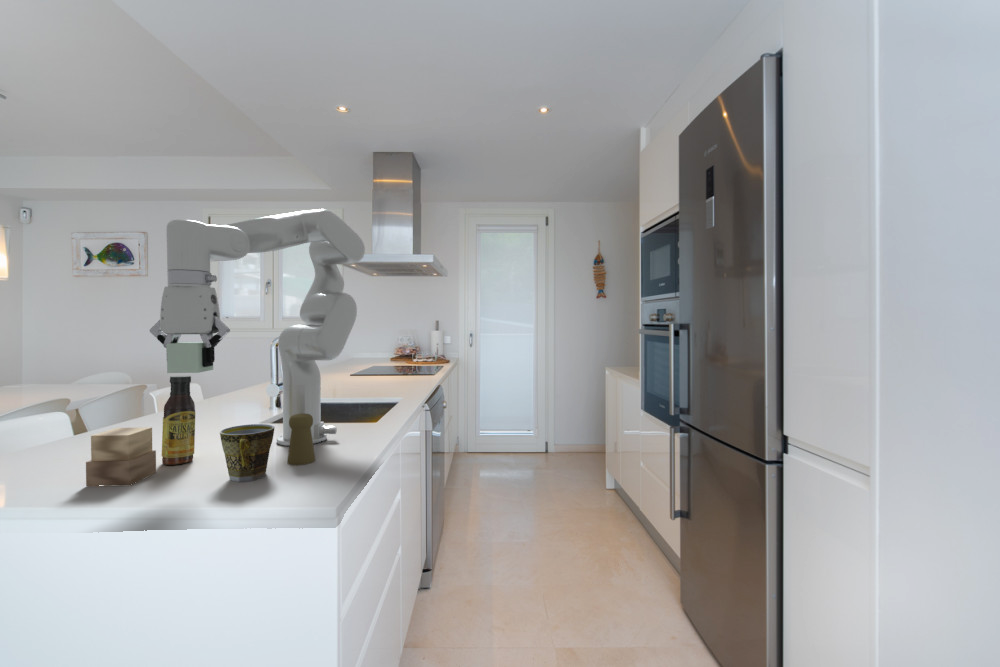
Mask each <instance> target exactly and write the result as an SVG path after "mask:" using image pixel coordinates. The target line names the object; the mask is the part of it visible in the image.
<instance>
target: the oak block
mask: <svg viewBox="0 0 1000 667" xmlns="http://www.w3.org/2000/svg"><path fill="white" fill-rule="evenodd" d="M152 450H153V427H148V426H147V427H116V428H112V429H108V430H106V431H102V432H98V433H95V434H92V435H90V455H91V456H90V457H91V458H90V460H91V461H122V460H131V459H134V458H136V457H138V456H141V455H143V454H146V453H148V452H151V451H152Z"/></svg>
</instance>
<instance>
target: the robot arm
mask: <svg viewBox="0 0 1000 667" xmlns="http://www.w3.org/2000/svg"><path fill="white" fill-rule="evenodd" d="M358 234H359V233H357V232H356V231H355V230H354V229H353V228H352V227H350V225H349V224H347V223H346V222H345V220H343V219H342V218H340V217H339V216H338V215H337V214H335V213H333V212H332V211H330V210H328V209H326V208H325V209H324V208H321V209H320V208H319V209H310V210H300V211H294V212H288V213H280V214H275V215H274V214H273V215H269V216H263V217H257V218H252V219H251V218H250V219H248V220H244V221H243V220H242V221H237V222H233V223H232V222H231V223H228V224H220V225H218V224H209V223H208V224H207V223H204V222H201V221H197V220H192V219H181V218H180V219H172V220H170V221H169V222H168V223H167V225H166V264H167V265H166V266H167V267H166V268H167V270H166V272H167V286H164V288H163V293H162V296H161V301H160V302H161V303H160V312H159V313H160V315H159V316H160V317H159V320H158V321H157V322H156V323H155V324H154V325H153V326H152V327H151V328H150V329H149V333H150V334H151V335H153V336H154V337H155V338H156V339H157V341H158V342H160V343H161V344H162V345H163V348H166V350H167V344H169V343H179V342H180V338H181V336H182V335H199V336H200V338H201V342H203V343H204V348H202V366H203V367H208V366H213V367H214V362H215V355H216V354H215V348H216V347H217V346H218V344H220V342H221V341H222V340H223V338H225V337H226V336H227V335H228V334H229V333H230V332H231V328H229V327H228V326H227V325H226V323H224V322H223V321H222V320H221V313H220V305H219V300H218V299H219V298H218V295H217V290H216V288H215V287H211V285H212V283H213V282H215V283H216V282H217V281H218V277H217V275H216V274H214V275H213V274H212V273H211V263H212V262H226V261H227V262H228V261H237V260H241V259H243V258H244V257H246V256H247V255H248V254H256V253H257V254H259V253H261V254H262V253H271V252H275V251H276V252H277V251H280V250H284V249H287V248H291V247H297V246H300V245H304V244H309V246H308V253H309V256H310V257H309V258H310V260H311V262H312V265H313V269H314V279H313V280H312V284H311V285H310V288H309V290H308V292H307V294H306V295H305V296H304V299H303V301H302V304H301V306H300V309H299V317H300V319H301V321H302V322H303V323H305V324H294V325H290V326H287V327H286V328H284V329H283V330H282V331H281V333H280V334H279V335H278V336H279V337H278V341H277V343H278V344H277V345H278V352H279V356H280V361H281V368H282V370H281V371H282V434H281V435H279V436H277V437H276V443H277V444H279V445H280V446H290V438H291V431H292V429H291V428H290V426H289V419H290V417H291V416H292V415H295V414H301V413H305V414H310V415H311V416H312V417H313V425H312V426H311V434H312V441H313V445H314V444H317V443H321V441H322V442H324V441H326V440H327V438H328V436H327V434H328V435H337V431H338V430H337V426H334V425H327V426H326V425H325V423H324V422H325V421H321V420H322V419H321V418H322V416H321V415H322V414H321V413H322V412H321V409H322V408H321V407H322V406H321V405H322V404H321V403H322V402H321V401H322V399H321V383H322V382H321V380H322V377H321V372H320V369H319V366H318V364H317V362H316V361H325V362H326V361H333V360H334V359H337V358H338V357H339V356H340V354H341V353H342V352H343V349H345V345H346V343H347V341H348V339H349V337H350V334H351V332H352V330H353V328H354V326H355V322H356V320H357V316H358V315H357V313H358V306H357V302H356V300H355V299H354V297H353V296H351V295H350V294H349V293H347V292H344V289H345V281H344V277H343V276H342V274H341V271H340V269H339V267H338V265H346V264H356V263H358V262H360V261H361V260H362V259H364V257H365V254H366V253H365V250H366V247H365V243H364V242H363V240H362V238H361V237H360V235H358Z"/></svg>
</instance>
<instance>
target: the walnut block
mask: <svg viewBox="0 0 1000 667" xmlns="http://www.w3.org/2000/svg"><path fill="white" fill-rule="evenodd" d="M152 474H153V475H155V474H157V450H153V449H152V451H151V452H148V453H146V454H143V455H141V456H138V457H136V458H134V459H131V460H122V461H91V459H90V460H88V461H85V481H86V482H85V486H96V487H100V486H99V485H130V486H132V485H134V484H136V483H139V482H141V481H142V479H143V480H145V479H147V478H149V477H151V476H153V475H152ZM150 475H151V476H150ZM148 476H149V477H148ZM146 477H147V478H146ZM144 478H145V479H144ZM135 482H136V483H135ZM131 484H132V485H131Z"/></svg>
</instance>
